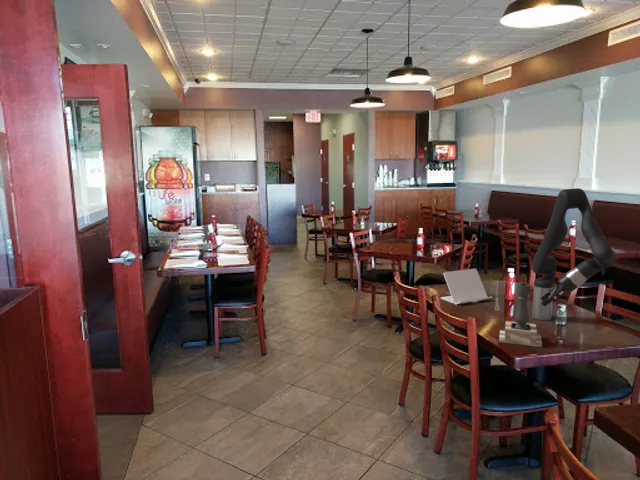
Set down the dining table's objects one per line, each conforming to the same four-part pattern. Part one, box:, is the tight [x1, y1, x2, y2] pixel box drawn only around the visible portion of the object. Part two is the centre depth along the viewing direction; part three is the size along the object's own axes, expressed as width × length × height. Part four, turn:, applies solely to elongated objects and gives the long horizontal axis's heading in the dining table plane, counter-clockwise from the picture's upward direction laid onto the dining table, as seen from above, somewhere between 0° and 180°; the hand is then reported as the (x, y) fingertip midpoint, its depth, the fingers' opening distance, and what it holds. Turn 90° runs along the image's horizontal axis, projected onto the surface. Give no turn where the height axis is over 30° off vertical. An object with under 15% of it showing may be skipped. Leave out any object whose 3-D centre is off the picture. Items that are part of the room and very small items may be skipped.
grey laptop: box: [440, 268, 493, 306], centre depth 287 cm, size 18×25×17 cm
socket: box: [498, 320, 543, 348], centre depth 222 cm, size 14×18×6 cm
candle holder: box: [514, 282, 531, 330], centre depth 220 cm, size 6×6×25 cm
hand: (542, 302), depth 216 cm, fingers open, 8 cm apart
